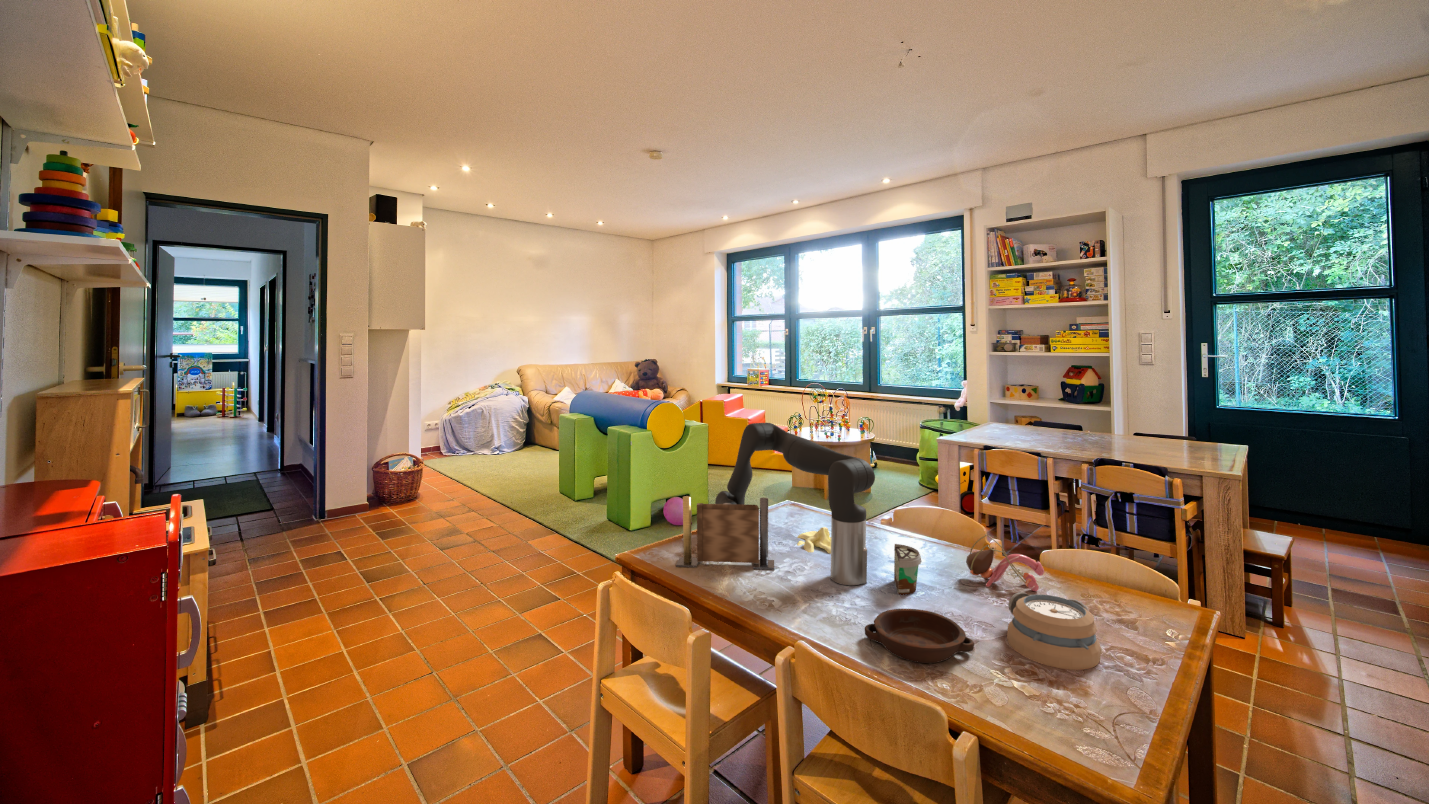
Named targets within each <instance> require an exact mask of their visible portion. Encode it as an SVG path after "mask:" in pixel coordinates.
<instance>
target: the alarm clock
mask: <svg viewBox="0 0 1429 804" xmlns="http://www.w3.org/2000/svg"><path fill="white" fill-rule="evenodd" d="M1007 606H1008V610H1009V612H1010V614H1011V615H1012V616H1013V618H1012V619H1011V621H1010V622H1009V623H1008V625H1007V631H1006V632H1007V633H1006V634H1007V635H1006V641H1007V642H1008V645H1009V646H1010V648H1012V649H1013V650H1014V652H1016V653H1018V654H1020V655H1021V656H1023V657H1025V658H1027V659H1028V660H1031V661H1033V662H1035V663H1039V664H1040V665H1041V664H1042V665H1044V666H1047V667H1052V668H1055V669H1061V670H1070V671H1080V670H1081V671H1082V670H1083V671H1084V670H1088V669H1093V668H1094V667H1096V666H1097V665H1099V663H1100V662H1101V655H1102V654H1101V653H1102V649H1101V643H1100V641H1099V639H1098V638H1097V636H1096V634H1097V632H1098V629H1097V625H1096V623H1095V617H1094V615H1093V613H1091V612H1090V610H1089V608H1088V607H1087V606H1086V605H1085V604H1084V603H1083V602H1082V601H1079V600H1078V599H1074V598H1068V599H1067V598H1064V597H1060V596H1057V595H1056V596H1055V595H1049V594H1028V593H1026V592H1024V591H1023V592H1021V591H1018V592H1016V593H1014V594H1013V595H1012V596H1011V598H1010V599H1009V601H1008V605H1007Z"/></svg>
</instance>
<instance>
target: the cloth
mask: <svg viewBox="0 0 1429 804" xmlns="http://www.w3.org/2000/svg"><path fill="white" fill-rule="evenodd" d="M830 535H831V532H830V531H829V528H828V527H825V526H823V527H820V528H819V529H818V531H816V530H811V531H807V532H803V533H800V534H799V535H798V536H797V539H802V540H799V541H798V542H797V543H796V545H797V546H798V547H799V546H803V547H802V548H803V549H804V551H806V552H807V553H814V551H815V547H817V548H821V549H823V550H825V551H826V553H828V554H829V555H831V536H830ZM804 540H805V541H804Z"/></svg>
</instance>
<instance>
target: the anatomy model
mask: <svg viewBox="0 0 1429 804" xmlns="http://www.w3.org/2000/svg"><path fill="white" fill-rule="evenodd" d="M986 537H988V538H990V539H991V540H992V541H994V543H996V544H997V545H998V546H999V547H1000V548H1001V550H998V549H995V548H994V547H992V548H991V547H990V544H986V545H985V546H983V547H982V548H981V549H980V550H979V551H973V552H972V550H973V549H974V547H975V546H976V545H977V543H978V542H980V541H981V540H982V539H985V538H986ZM985 548H988V549H985ZM995 552H999V553H1002V554H1003V555H1004V558H1002V560H1000V561H999V562H998V563H997V564H996V566H994V567H993V568H992V563H993V562H994V556H995V555H994V554H995ZM965 562H966V563H965V564H966V566H967V567H968V570H969V573H970V574H971V575H972V576H979V575H980V577H981V578H982V579H988V581H987V582H986V584H985V587H988V588H990V586H992V584H994V583H997V582H999V581H1000V580H1001V579H1002V578H1003V576H1004V575H1005V573H1006V572H1007V569H1008V568H1009V566H1010V567H1011V568H1012V570H1013V572H1010V575H1011V576H1012V579H1013V580H1015V579H1017V578H1018V577H1019V579H1020V580H1021V581H1022V582H1023V583H1024V584H1025V586H1026V587H1027V588H1028V589H1029V590H1030V591H1032V592H1037V591H1039V589H1040V588H1039V587H1040V586H1039V584H1038V583H1037V579H1036V577H1035V575H1033V574H1032V573H1029V572H1024V571H1021V572H1020V569H1017V568H1016V567H1015V566H1014V565H1015V564H1014V563H1021V564H1023V565H1026V566H1027V567H1029V568H1030V569H1032V571H1034V573H1035V574H1037V576H1039V577H1040V576H1043V575H1044V574H1045V570H1044V567H1043V565H1042V563H1041V562H1040V561H1038V560H1037V561H1035V560H1034V559H1032V558H1031V557H1029V556H1027V555H1025V554H1021V553H1011V554H1009V555H1008V554H1007V552H1006V551H1005V549H1004V548H1003V546H1002V544H1000V543H999V542H998V541H997V540H996V539H994V538H993V537H991V536H990V535H988V534H986V533H985V534H984V536H982V537H980V538H979V539H977V540H976V541H975V542H974V543H973V545H972V546H971V548H970V551H969V554H968V555H967V556H966V561H965ZM1013 575H1015V576H1013Z"/></svg>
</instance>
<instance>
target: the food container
mask: <svg viewBox="0 0 1429 804" xmlns="http://www.w3.org/2000/svg"><path fill="white" fill-rule="evenodd" d="M893 551H894V562H893V563H894V569H893V570H894V572H893V582H894V585H895V588H896V589H895V590H896V593H897V596H910V595H913V594H915V593H916V591H917V582H918V574H919V566H920V565H921V564H922V557H921V553H920V552H919V550H918V549H917V548H915V547H913V546H910V545H906V544H899V543H894V550H893Z"/></svg>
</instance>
